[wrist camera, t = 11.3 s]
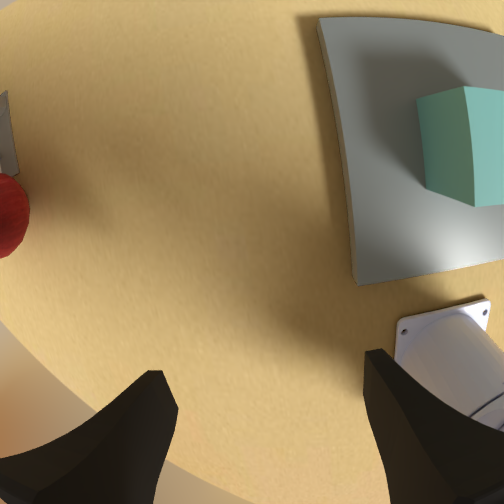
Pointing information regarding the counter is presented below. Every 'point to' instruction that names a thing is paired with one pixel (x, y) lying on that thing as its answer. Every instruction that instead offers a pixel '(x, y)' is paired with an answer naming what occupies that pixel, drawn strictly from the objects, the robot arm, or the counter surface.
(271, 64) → the counter surface
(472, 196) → the cube
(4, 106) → the skyscraper
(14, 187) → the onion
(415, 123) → the cutting board
